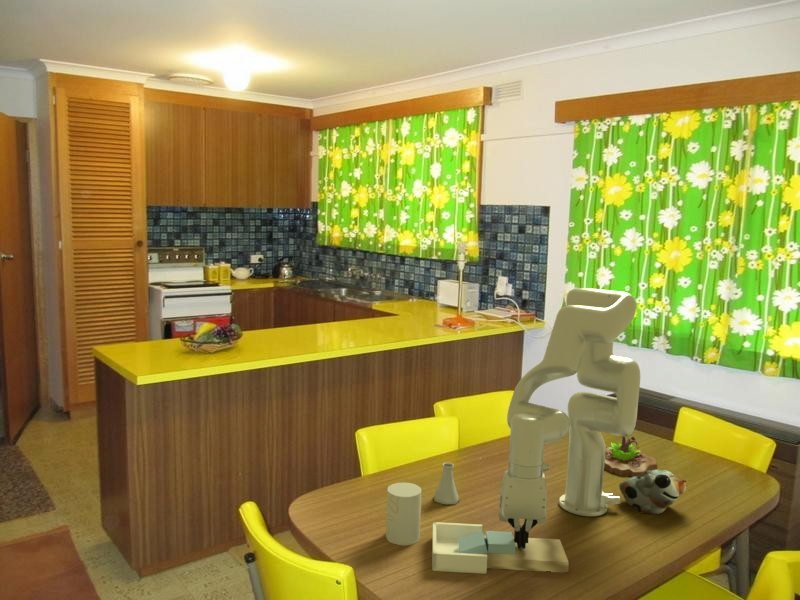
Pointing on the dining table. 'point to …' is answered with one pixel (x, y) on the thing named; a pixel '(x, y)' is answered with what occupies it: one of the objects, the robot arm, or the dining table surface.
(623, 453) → the plant
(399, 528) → the grey cylinder
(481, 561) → the tray
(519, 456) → the robot arm
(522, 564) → the board
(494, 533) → the tile
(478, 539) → the tile
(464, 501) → the dining table surface
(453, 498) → the flask
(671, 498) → the grey toy figure
